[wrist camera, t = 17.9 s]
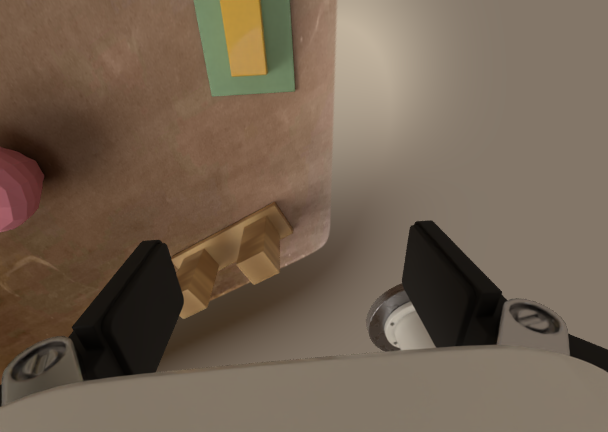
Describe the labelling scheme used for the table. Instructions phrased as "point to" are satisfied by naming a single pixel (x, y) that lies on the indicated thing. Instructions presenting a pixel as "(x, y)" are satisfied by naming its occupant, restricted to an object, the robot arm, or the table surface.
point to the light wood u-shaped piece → (232, 255)
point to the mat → (276, 46)
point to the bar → (244, 37)
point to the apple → (18, 188)
